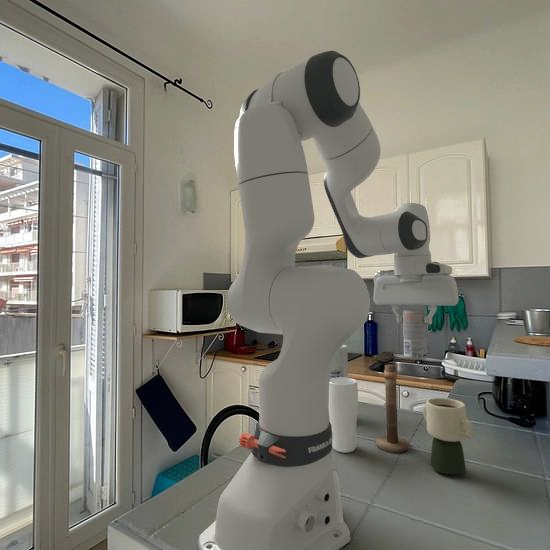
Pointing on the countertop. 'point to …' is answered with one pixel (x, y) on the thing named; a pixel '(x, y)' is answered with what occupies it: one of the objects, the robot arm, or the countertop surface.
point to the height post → (391, 416)
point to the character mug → (447, 433)
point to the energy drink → (414, 335)
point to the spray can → (340, 364)
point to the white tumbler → (343, 413)
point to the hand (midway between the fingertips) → (414, 323)
